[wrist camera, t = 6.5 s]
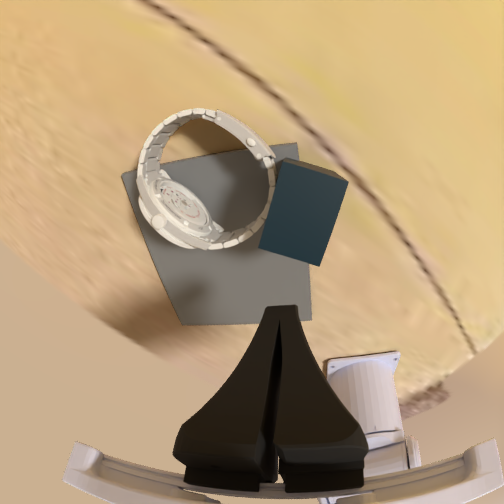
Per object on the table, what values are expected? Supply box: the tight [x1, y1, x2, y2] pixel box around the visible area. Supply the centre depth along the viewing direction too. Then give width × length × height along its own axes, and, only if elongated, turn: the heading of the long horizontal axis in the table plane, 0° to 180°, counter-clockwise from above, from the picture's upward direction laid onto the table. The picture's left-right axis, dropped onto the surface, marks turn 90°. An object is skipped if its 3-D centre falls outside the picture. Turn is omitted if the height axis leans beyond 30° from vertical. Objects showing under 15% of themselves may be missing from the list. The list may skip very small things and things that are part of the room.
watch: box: [136, 108, 348, 266], centre depth 16 cm, size 6×8×11 cm
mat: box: [122, 143, 312, 325], centre depth 22 cm, size 15×12×1 cm
